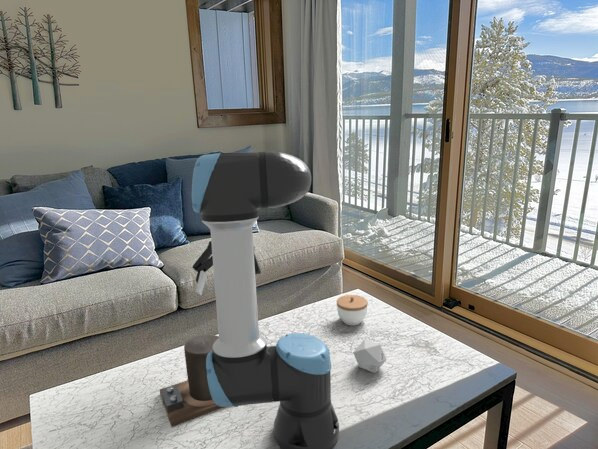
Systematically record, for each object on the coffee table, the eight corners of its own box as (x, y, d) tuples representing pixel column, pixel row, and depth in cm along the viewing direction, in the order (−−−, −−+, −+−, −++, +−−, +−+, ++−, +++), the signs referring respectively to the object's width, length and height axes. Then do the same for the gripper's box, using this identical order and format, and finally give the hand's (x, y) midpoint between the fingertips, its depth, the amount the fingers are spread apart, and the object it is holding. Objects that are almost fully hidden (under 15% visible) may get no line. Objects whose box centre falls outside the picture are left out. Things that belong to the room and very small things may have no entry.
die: (362, 382, 114) (384, 358, 111) (342, 357, 118) (363, 334, 115) (375, 377, 120) (396, 355, 117) (356, 353, 125) (376, 331, 122)
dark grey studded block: (250, 383, 111) (250, 374, 111) (167, 413, 101) (166, 403, 100) (241, 370, 117) (240, 361, 117) (162, 397, 107) (160, 387, 106)
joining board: (256, 395, 109) (255, 389, 108) (171, 427, 99) (170, 420, 98) (237, 368, 121) (236, 363, 120) (160, 394, 110) (159, 388, 110)
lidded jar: (351, 311, 153) (351, 287, 150) (373, 321, 145) (374, 297, 142) (330, 320, 146) (330, 296, 144) (352, 332, 138) (352, 306, 136)
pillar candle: (189, 404, 103) (183, 352, 99) (188, 381, 112) (182, 332, 108) (228, 396, 106) (223, 345, 102) (224, 374, 115) (220, 326, 111)
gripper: (276, 236, 127) (266, 301, 117) (201, 234, 132) (185, 297, 121) (271, 223, 121) (260, 291, 110) (192, 222, 126) (174, 287, 115)
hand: (220, 294), depth 116 cm, fingers open, 13 cm apart
